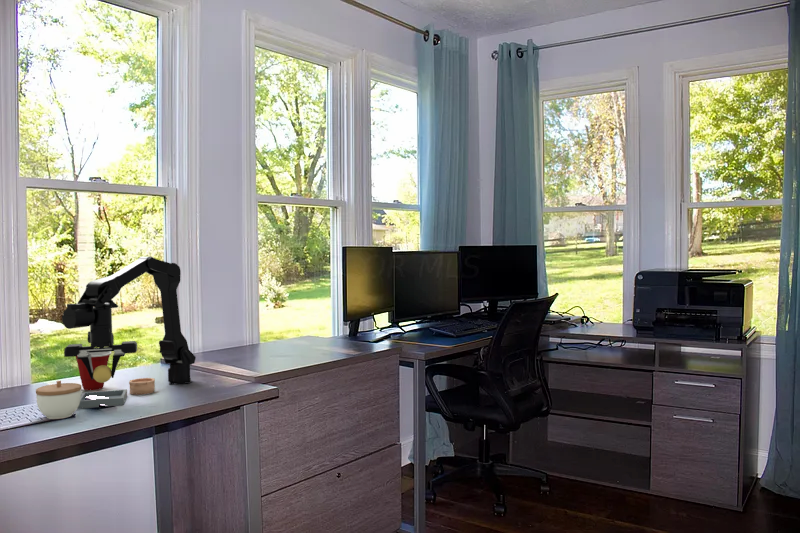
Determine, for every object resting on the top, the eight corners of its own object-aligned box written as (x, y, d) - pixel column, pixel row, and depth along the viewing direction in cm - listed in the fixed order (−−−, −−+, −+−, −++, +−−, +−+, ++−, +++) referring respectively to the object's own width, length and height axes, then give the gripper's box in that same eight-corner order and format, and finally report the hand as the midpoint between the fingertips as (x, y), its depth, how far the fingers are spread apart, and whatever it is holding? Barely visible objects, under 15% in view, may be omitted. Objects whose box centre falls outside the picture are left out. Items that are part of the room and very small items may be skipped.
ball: (113, 380, 188) (112, 363, 188) (111, 383, 184) (110, 366, 183) (94, 381, 187) (93, 364, 187) (91, 384, 182) (91, 367, 182)
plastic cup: (94, 393, 197) (93, 354, 197) (66, 391, 200) (65, 353, 200) (120, 386, 207) (119, 349, 207) (93, 384, 210) (92, 347, 210)
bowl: (155, 388, 203) (155, 377, 202) (154, 393, 196) (154, 381, 196) (130, 390, 200) (130, 379, 200) (128, 395, 193) (128, 383, 193)
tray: (127, 395, 193) (127, 389, 193) (123, 405, 182) (123, 398, 181) (83, 399, 189) (83, 392, 189) (76, 408, 178) (76, 401, 178)
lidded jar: (51, 423, 163) (50, 387, 163) (28, 418, 168) (27, 382, 168) (90, 414, 172) (89, 379, 172) (67, 409, 178) (66, 375, 177)
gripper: (138, 320, 195) (139, 371, 196) (69, 323, 189) (71, 375, 190) (135, 324, 185) (136, 378, 185) (63, 327, 179) (64, 383, 179)
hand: (102, 378), depth 185 cm, fingers closed on ball, 5 cm apart
